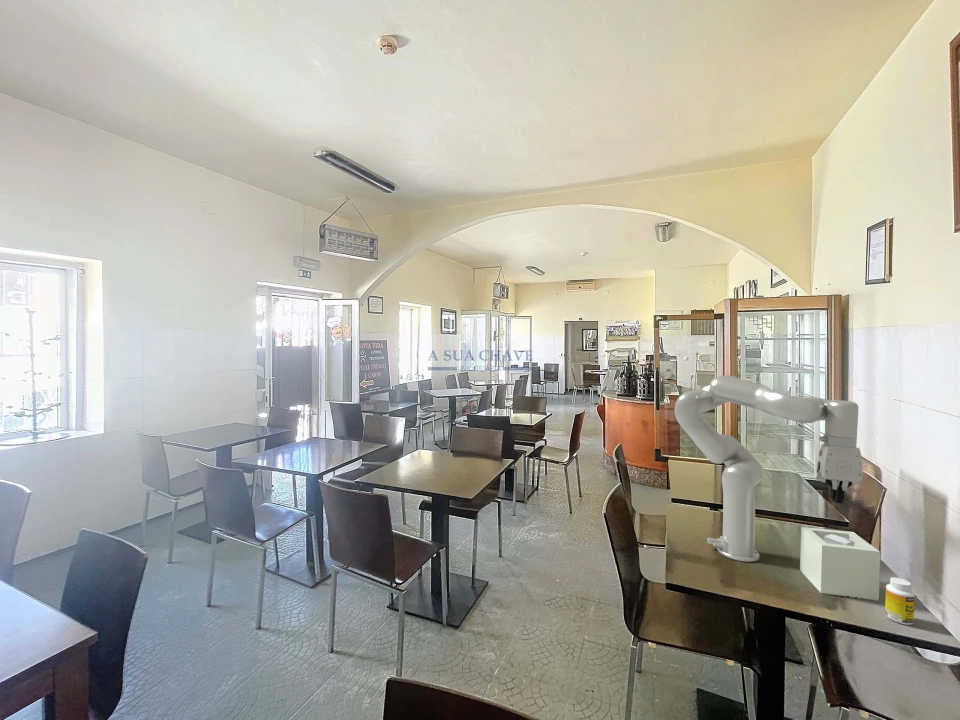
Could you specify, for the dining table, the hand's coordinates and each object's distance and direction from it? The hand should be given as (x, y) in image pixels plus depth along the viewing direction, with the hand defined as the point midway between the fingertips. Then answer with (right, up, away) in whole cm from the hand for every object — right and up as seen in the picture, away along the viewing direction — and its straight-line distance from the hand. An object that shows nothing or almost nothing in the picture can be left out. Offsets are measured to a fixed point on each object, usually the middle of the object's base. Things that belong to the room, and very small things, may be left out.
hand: (836, 501), depth 133 cm
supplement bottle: (+3, -26, -17) cm, 31 cm away
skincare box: (0, -23, 0) cm, 23 cm away
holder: (0, -25, 0) cm, 25 cm away
